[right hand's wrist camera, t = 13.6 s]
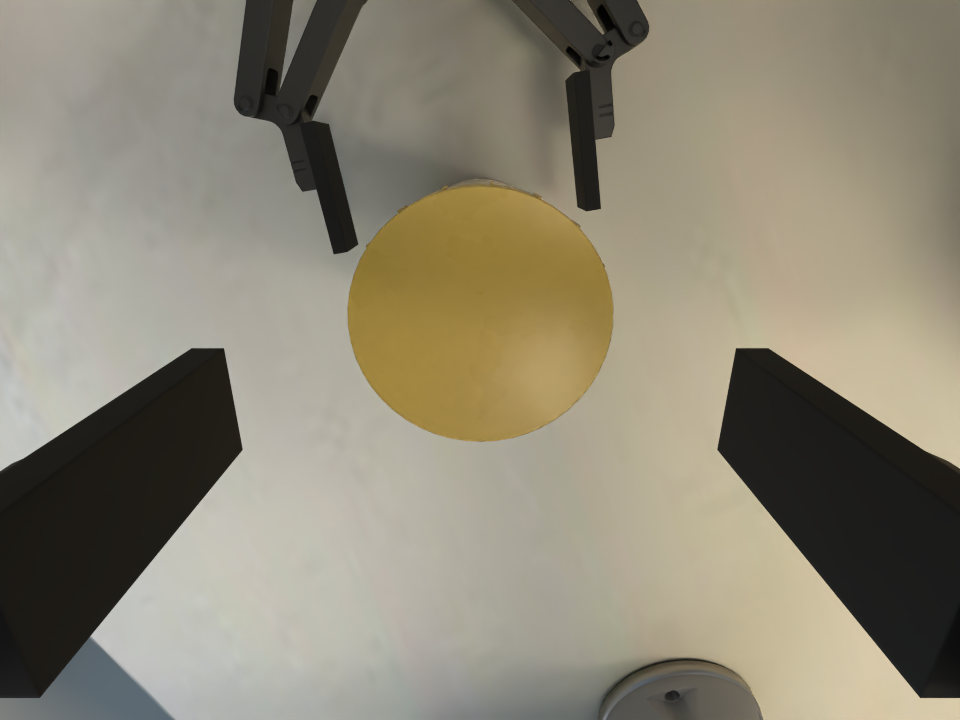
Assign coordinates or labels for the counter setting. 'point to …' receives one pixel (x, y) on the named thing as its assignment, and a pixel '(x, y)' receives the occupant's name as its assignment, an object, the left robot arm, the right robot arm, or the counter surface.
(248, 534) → the counter surface
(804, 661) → the counter surface
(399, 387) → the lid
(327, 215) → the left robot arm
